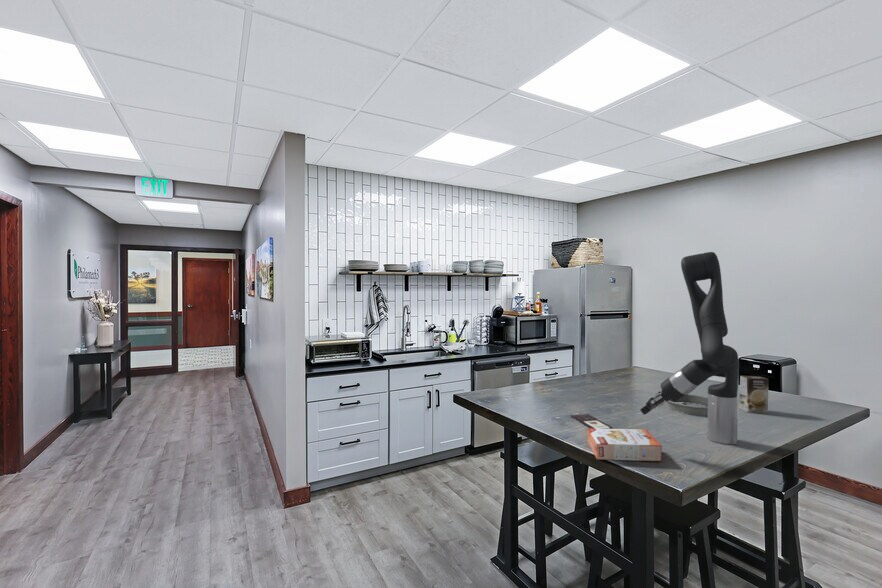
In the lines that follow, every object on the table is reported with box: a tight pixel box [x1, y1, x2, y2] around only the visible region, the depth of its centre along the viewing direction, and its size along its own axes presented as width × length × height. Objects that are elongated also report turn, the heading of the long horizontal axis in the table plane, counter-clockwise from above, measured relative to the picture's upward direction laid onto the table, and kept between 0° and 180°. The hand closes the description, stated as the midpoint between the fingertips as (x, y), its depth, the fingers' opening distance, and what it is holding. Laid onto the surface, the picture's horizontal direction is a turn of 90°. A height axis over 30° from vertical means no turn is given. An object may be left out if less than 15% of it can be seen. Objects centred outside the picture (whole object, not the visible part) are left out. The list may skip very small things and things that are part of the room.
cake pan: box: [665, 393, 708, 416], centre depth 199 cm, size 25×25×4 cm
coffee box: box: [738, 375, 770, 414], centre depth 195 cm, size 9×6×16 cm
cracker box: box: [587, 427, 663, 462], centre depth 145 cm, size 14×6×21 cm
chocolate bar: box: [569, 413, 614, 429], centre depth 178 cm, size 9×1×18 cm
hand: (642, 412), depth 150 cm, fingers closed
